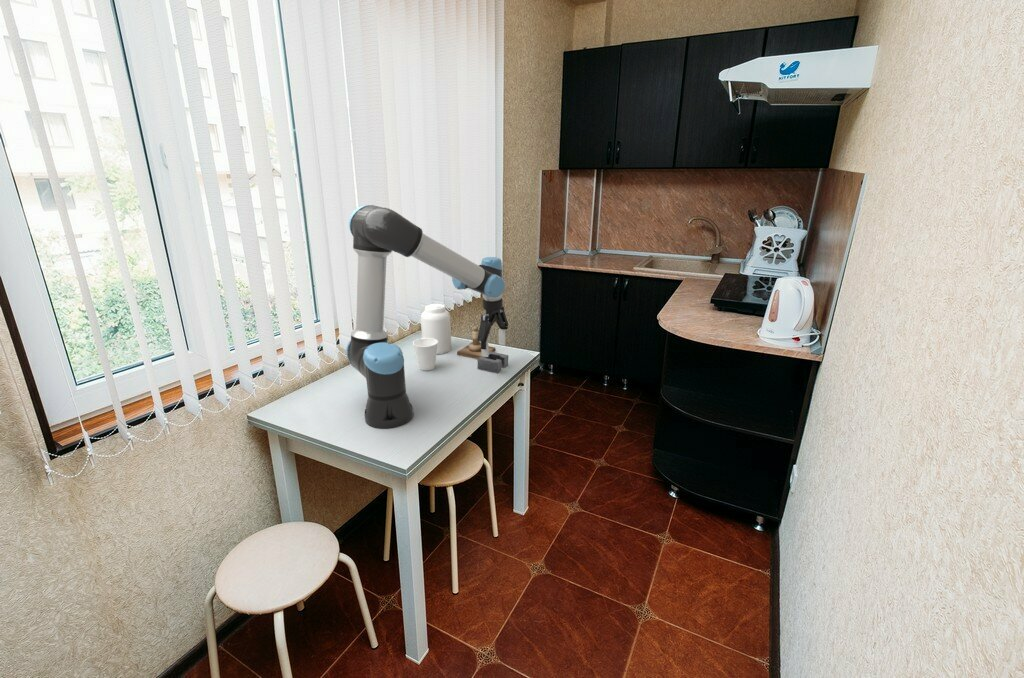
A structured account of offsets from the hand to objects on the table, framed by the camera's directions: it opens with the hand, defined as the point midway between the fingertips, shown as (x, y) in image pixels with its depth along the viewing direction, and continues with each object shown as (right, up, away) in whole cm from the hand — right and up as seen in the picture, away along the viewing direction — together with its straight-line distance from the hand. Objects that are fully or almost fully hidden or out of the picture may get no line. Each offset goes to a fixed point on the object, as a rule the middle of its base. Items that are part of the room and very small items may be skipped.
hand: (493, 350), depth 188 cm
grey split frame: (0, -7, +2) cm, 7 cm away
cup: (-27, -7, +1) cm, 28 cm away
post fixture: (-8, -1, +17) cm, 19 cm away
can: (-26, 0, +20) cm, 32 cm away
